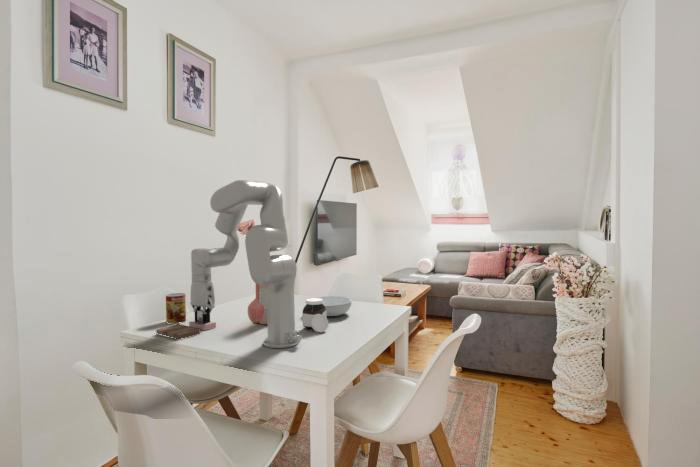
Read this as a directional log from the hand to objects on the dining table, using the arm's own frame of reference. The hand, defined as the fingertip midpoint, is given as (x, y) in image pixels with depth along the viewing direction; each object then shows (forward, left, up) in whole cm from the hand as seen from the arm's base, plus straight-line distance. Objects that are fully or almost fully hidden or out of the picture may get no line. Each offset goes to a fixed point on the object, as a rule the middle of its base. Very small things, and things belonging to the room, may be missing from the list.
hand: (202, 321), depth 160 cm
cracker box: (-18, -23, -3) cm, 29 cm away
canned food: (+19, -1, -3) cm, 19 cm away
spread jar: (-43, -22, -3) cm, 48 cm away
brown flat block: (0, +11, -2) cm, 11 cm away
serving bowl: (-33, -45, -3) cm, 56 cm away
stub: (0, 0, -2) cm, 2 cm away
